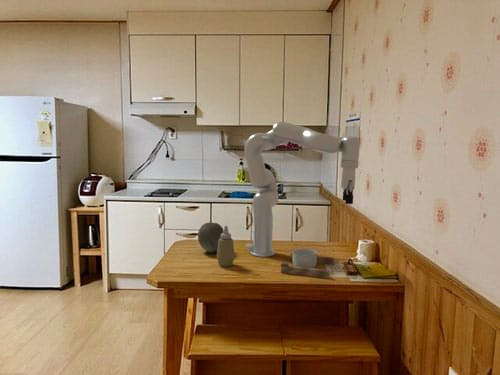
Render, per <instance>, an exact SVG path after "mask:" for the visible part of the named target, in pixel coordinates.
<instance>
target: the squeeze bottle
mask: <svg viewBox="0 0 500 375" xmlns="http://www.w3.org/2000/svg"><path fill="white" fill-rule="evenodd" d="M234 245H235V244H234V239H233V238H232V233H229V228H228V225H225V226H224V228H223V233H222V234H221V238H220V239H219V241H218V250H217V252H216V260H217V263H218V266H220V267H223V268H226V267H227V268H228V267H231V266H232V265H233V263H234V260H235V246H234Z"/></svg>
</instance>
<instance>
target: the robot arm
mask: <svg viewBox="0 0 500 375" xmlns="http://www.w3.org/2000/svg"><path fill="white" fill-rule="evenodd" d="M285 142H289V143H292V144H296V145H299V146H303V147H307V148H311V149H312V150H313V149H314V150H318V151H320V152H324V153H329V154H338V153H341V158H340V160H341V161H340V168H341V169H342V172H341V173H342V174H341V184H340V187H341V189H342V190H343V191H342V200H343V201H344V202H345V204H347V205H353V204H354V190H355V187H356V169H358V168H359V158H360V157H359V156H360V142H361V141H360V138H359V137H356V136H344V137H342V136H336V135H329V134H325V133H323V132H319V131H315V130H312V129H311V128H308V127H306V126H305V127H304V126H301V125H297V124H293V123H290V122H286V121H277V122H276V123H274V124H273V126H272V129H271V130H270V131H268V132H266V133H263V132H256V133H254V134H252V135H250V137H249V138H248V139H247V140H246V142H245V145H244V148H243V149H244V157H245V161H246V166H247V172H248V176H249V180H250V184H251V186H252V187H253V188H254V189H258V190H259V192H257V193H255V194H254V196H253V198H252V211H253V212H252V214H253V231H252V232H253V236H252V237H253V239H252V240H253V243H245V248H246V249H250V250H249V254H250V255H252V256H254V257H261V258H262V257H263V258H264V257H266V258H267V257H273V256H275V254H276V250H275V249H273V229H274V228H273V227H274V226H273V225H274V224H273V222H274V221H273V220H274V217H273V216H274V215H273V208H274V207H275V206H276V205H277V204H278V202H279V192H278V188H277V184H276V183H277V182H276V179H275V175H274V173H273V172H272V171H271V170H270V169H268V168H266V165H265V160H264V157H263V155H262V151H270V150H272V149H275V147H276V148H277V147H278V146H280V145H281V144H283V143H285Z"/></svg>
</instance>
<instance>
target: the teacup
mask: <svg viewBox="0 0 500 375" xmlns="http://www.w3.org/2000/svg"><path fill="white" fill-rule="evenodd" d="M292 251H293V252H292ZM292 251H291V252H292V254H293V260H292V264H293V265H292V266H299V267H307V268H315V267H316V266H317V263H316V262H317V256H318V255H317V254H318V252H317V250H315V249H313V248H312V249H311V248H305V247H300V248H296V249H294V250H292Z"/></svg>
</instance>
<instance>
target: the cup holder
mask: <svg viewBox="0 0 500 375" xmlns="http://www.w3.org/2000/svg"><path fill="white" fill-rule="evenodd" d="M293 251H294V250H292V251H291V254H290V261H293V254H292V252H293ZM316 264H320V265H329V266H335V257H331V256H321V255H317V262H316ZM280 273H281V274H289V275H297V276H305V277H312V278H318V279H319V278H320V279H329V276H330V275H329V274H330V270H328V269H323V268H322V269H321V268H315V267H314V268H307V267H299V266H294V265H289V264H288V262H282V263H281V264H280Z"/></svg>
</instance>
